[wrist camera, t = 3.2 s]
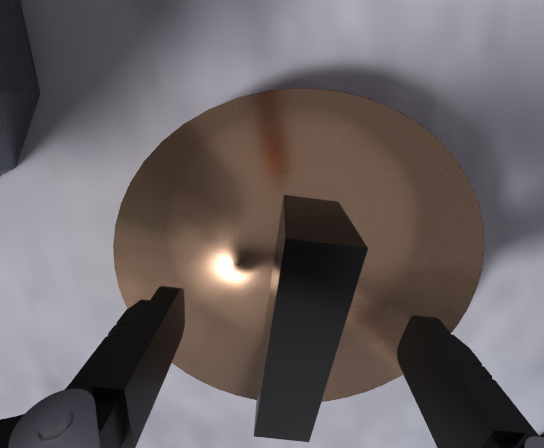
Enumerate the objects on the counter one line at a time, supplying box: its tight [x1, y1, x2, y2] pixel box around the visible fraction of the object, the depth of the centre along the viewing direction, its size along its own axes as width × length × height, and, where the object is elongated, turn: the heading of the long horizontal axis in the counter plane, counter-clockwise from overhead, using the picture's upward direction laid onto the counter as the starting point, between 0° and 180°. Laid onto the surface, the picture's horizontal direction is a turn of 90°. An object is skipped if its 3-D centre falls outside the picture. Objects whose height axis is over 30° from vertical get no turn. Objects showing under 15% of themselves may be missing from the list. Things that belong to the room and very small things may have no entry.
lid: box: [113, 88, 484, 442], centre depth 10 cm, size 15×15×5 cm
